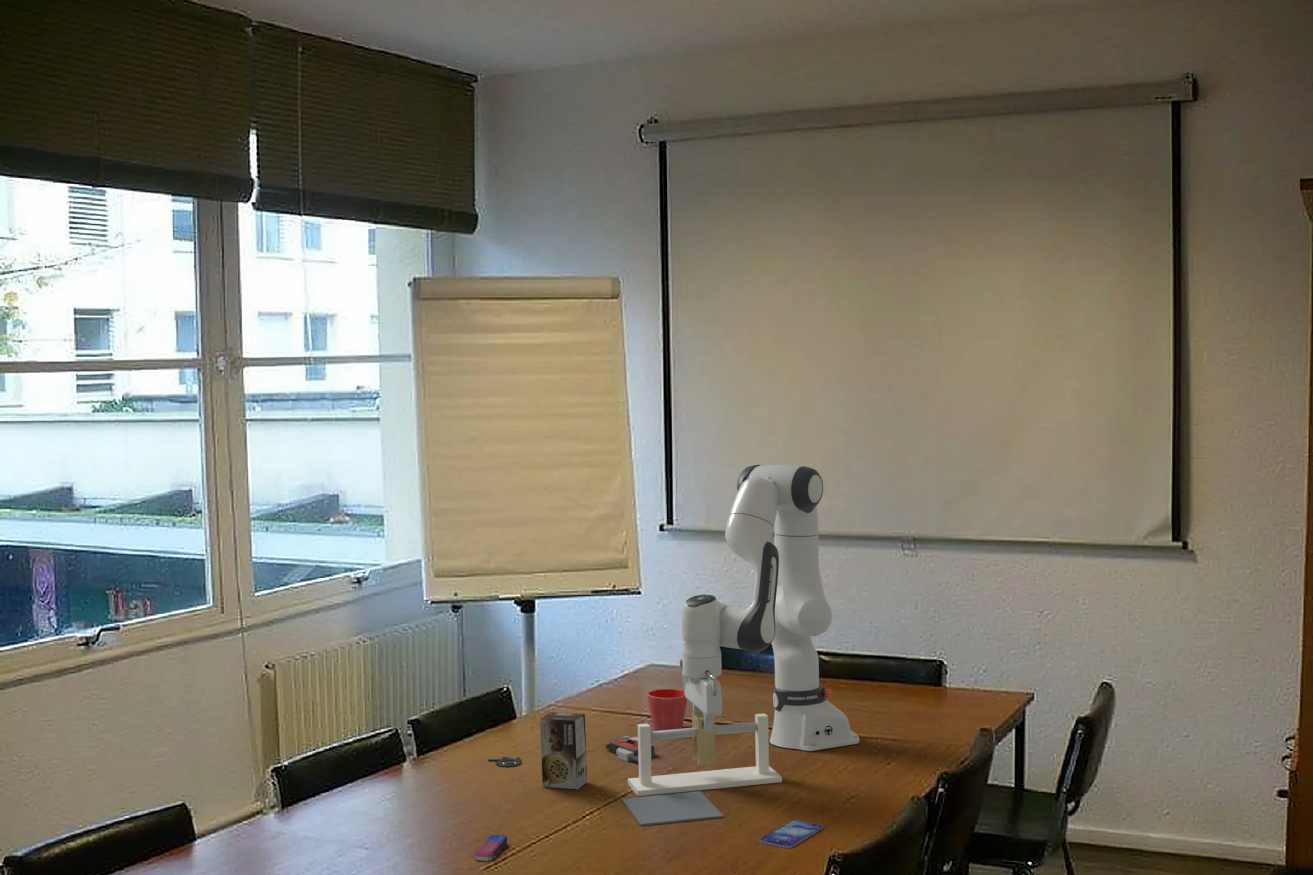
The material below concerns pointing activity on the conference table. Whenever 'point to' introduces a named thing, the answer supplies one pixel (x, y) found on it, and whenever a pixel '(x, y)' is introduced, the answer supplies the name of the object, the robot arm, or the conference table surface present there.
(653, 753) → the walkie-talkie
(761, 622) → the robot arm
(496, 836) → the eraser
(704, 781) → the rod stand
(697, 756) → the c-link
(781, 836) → the smartphone
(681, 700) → the flower pot
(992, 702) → the conference table surface
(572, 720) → the coffee box
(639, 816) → the rubber mat
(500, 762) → the dark grey flat piece
